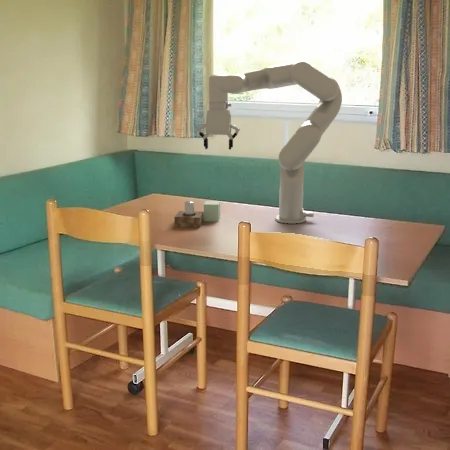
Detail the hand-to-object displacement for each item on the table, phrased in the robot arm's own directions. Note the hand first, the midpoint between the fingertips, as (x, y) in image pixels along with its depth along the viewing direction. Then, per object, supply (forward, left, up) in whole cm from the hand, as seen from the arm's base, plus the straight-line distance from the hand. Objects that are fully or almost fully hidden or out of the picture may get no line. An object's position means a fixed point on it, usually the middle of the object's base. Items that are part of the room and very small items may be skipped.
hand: (218, 148), depth 258 cm
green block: (+2, +5, -28) cm, 29 cm away
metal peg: (+10, +13, -28) cm, 33 cm away
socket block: (+10, +13, -28) cm, 33 cm away
